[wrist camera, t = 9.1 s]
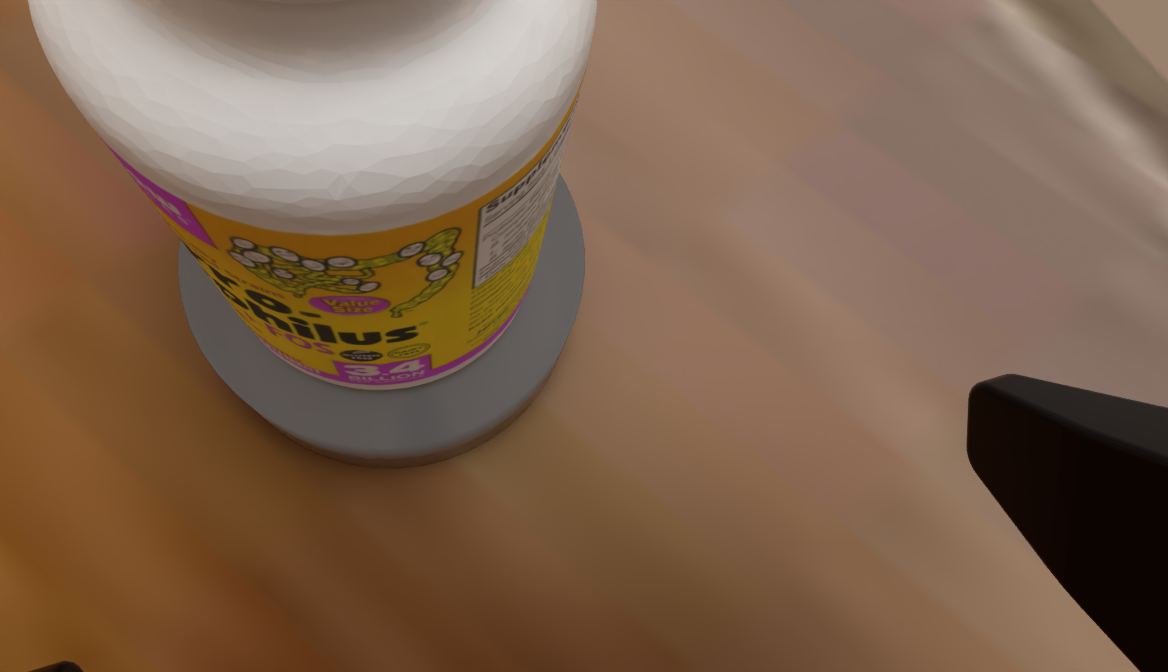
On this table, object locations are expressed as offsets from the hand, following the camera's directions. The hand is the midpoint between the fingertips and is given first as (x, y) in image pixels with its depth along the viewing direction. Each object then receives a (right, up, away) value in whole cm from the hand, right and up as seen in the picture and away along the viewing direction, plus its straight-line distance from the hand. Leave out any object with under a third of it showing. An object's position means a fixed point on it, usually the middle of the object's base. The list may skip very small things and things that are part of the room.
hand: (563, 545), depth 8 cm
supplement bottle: (-4, +4, +11) cm, 12 cm away
